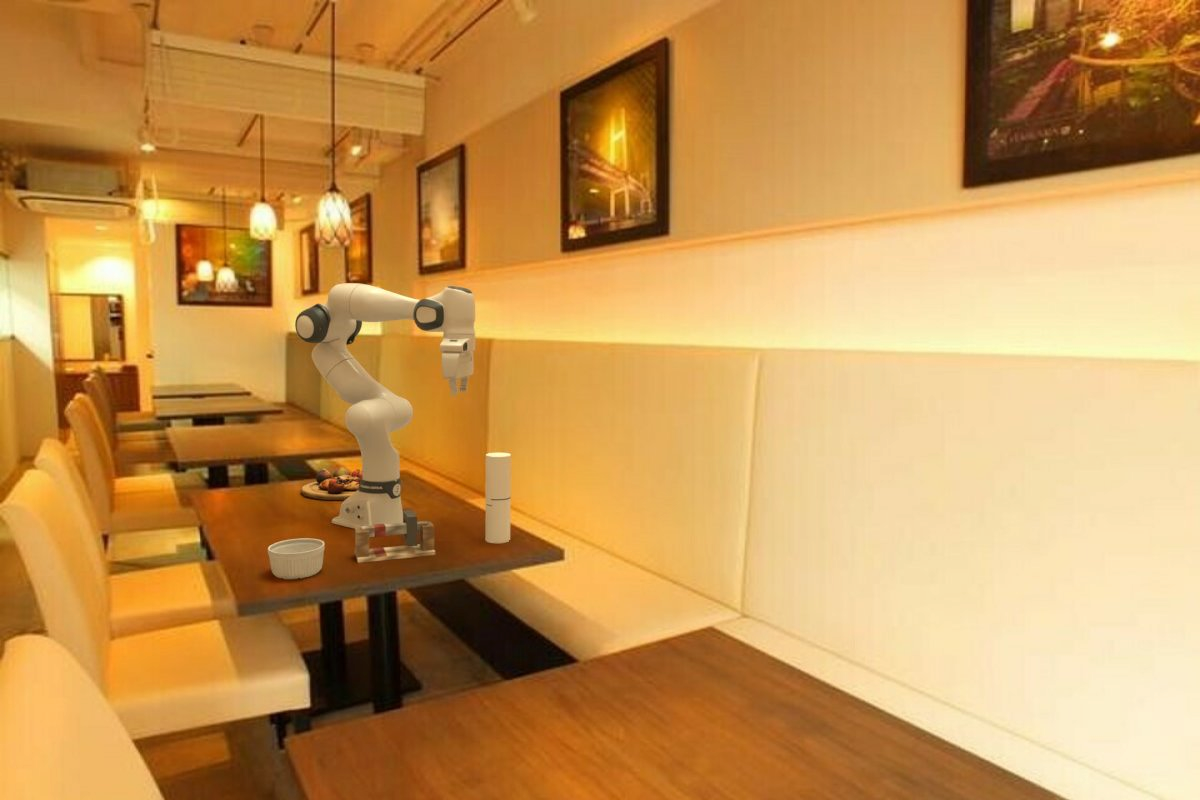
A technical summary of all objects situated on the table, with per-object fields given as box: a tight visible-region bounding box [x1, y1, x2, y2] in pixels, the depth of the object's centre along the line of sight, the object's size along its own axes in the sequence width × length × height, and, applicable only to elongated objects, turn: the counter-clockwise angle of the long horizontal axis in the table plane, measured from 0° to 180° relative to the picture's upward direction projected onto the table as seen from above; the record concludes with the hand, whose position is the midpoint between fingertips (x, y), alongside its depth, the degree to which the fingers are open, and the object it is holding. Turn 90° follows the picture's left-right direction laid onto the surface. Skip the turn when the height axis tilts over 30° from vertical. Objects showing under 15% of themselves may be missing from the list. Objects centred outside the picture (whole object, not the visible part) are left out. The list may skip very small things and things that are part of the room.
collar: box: [402, 509, 418, 547], centre depth 207 cm, size 2×8×8 cm, turn 23°
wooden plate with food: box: [300, 466, 362, 501], centre depth 279 cm, size 32×32×8 cm
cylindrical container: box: [484, 452, 512, 544], centre depth 220 cm, size 7×7×25 cm
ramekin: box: [267, 537, 326, 580], centre depth 190 cm, size 13×13×7 cm
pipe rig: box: [354, 520, 436, 564], centre depth 205 cm, size 20×8×8 cm, turn 113°
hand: (459, 393), depth 217 cm, fingers open, 8 cm apart
